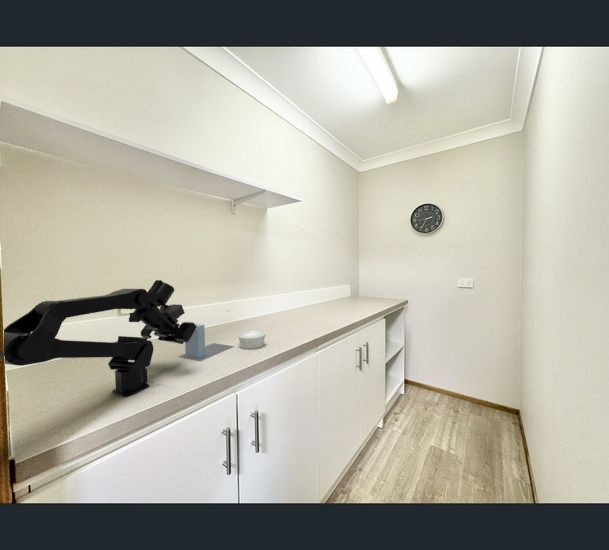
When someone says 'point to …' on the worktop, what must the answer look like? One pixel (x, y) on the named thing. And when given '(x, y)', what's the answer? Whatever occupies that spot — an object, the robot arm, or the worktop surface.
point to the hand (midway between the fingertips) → (182, 342)
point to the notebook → (196, 343)
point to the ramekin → (251, 339)
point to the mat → (210, 351)
